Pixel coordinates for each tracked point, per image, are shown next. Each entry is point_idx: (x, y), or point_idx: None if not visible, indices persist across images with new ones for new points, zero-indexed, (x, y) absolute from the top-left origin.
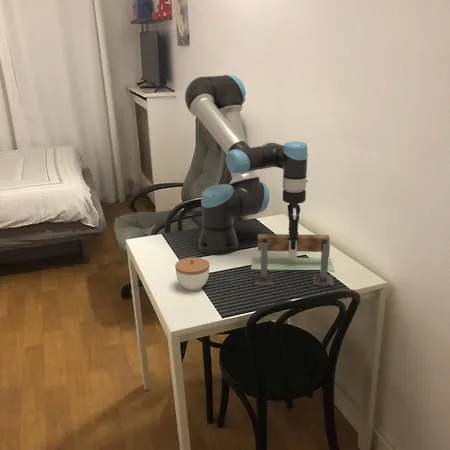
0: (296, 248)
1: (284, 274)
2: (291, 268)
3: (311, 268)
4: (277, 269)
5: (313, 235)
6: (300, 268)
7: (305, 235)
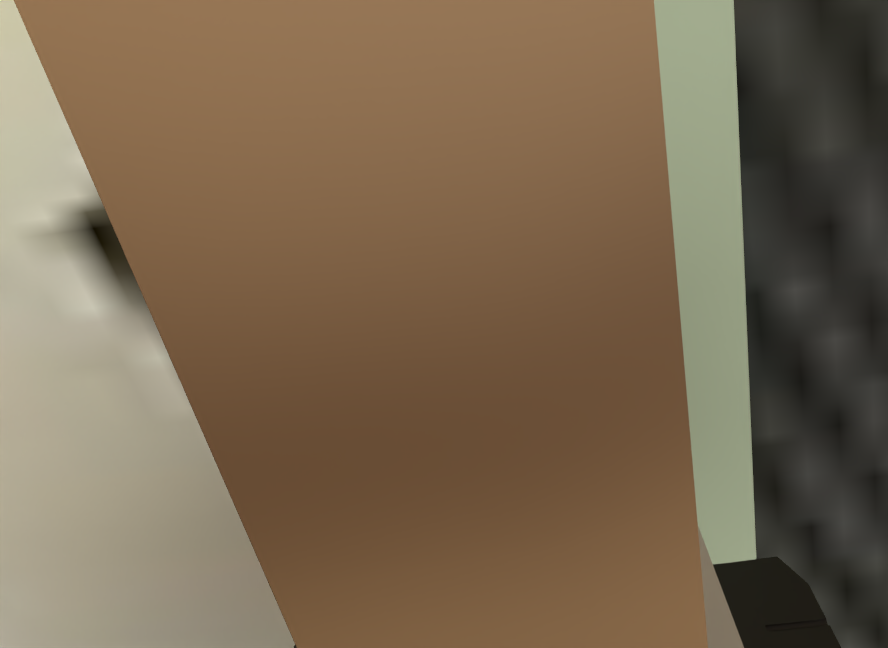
0: (703, 540)
1: (877, 419)
2: (706, 364)
3: (661, 44)
4: (753, 523)
5: (273, 305)
6: (688, 236)
7: (394, 628)
